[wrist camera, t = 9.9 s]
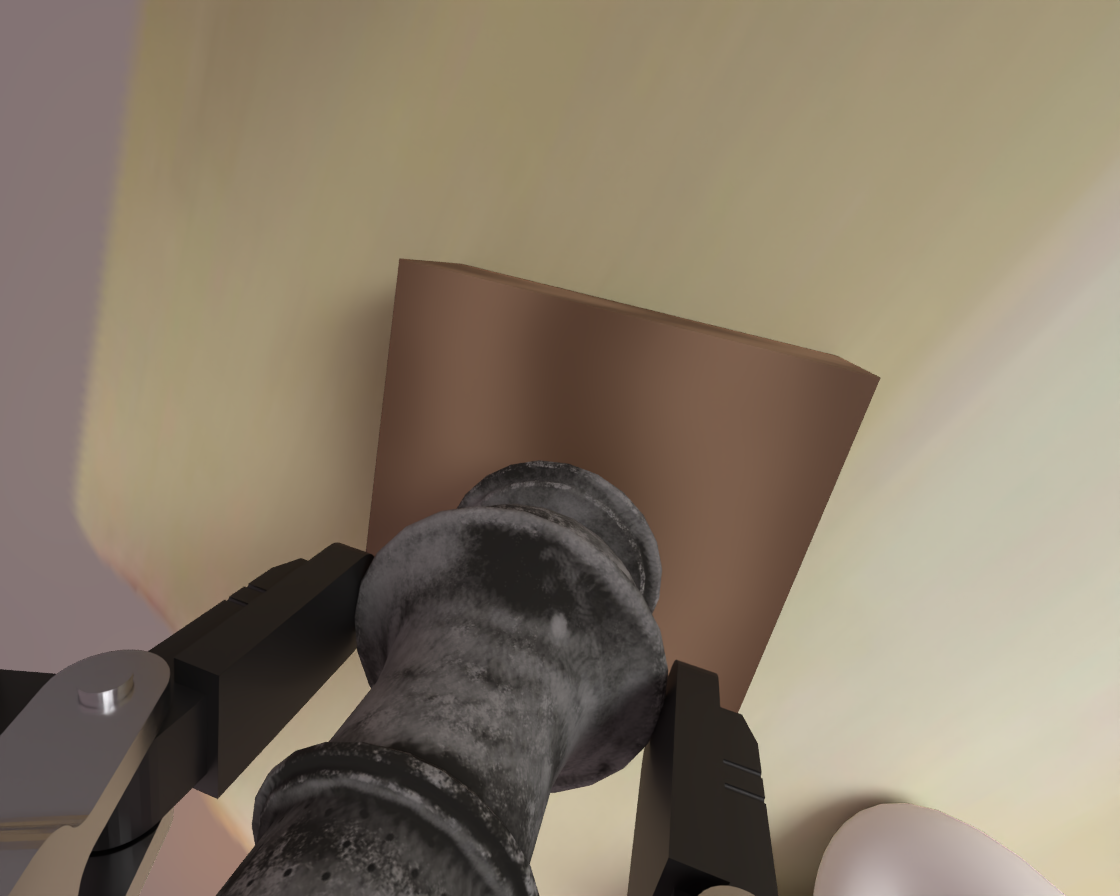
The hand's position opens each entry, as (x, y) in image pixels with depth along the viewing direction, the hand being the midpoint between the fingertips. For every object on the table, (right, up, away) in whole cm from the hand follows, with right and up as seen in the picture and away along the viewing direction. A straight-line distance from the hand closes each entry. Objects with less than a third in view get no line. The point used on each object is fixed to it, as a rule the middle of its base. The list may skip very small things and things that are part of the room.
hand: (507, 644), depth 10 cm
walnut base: (+2, +3, +9) cm, 9 cm away
